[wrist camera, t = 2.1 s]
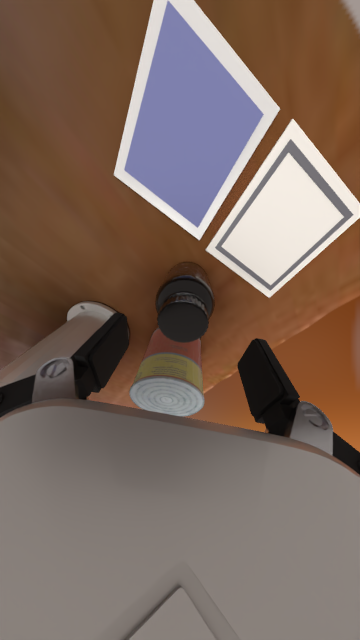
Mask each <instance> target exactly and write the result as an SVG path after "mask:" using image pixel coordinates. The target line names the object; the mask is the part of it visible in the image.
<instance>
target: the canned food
mask: <svg viewBox="0 0 360 640" xmlns="http://www.w3.org/2000/svg"><path fill="white" fill-rule="evenodd" d="M130 397H131V399H132V401H133V402H134V403H135V404H136V405H137V406H139V407H140V408H142V409H143V410H148V411H153V412H159V413H164V414H170V415H175V416H180V417H183V416H189V415H192V414H194V413H196V412H198V411H199V410H200V409H202V407H203V406H204V396H203V380H202V363H201V341H200V338H198V339H197V340H194V341H193V342H189V343H187V342H186V343H182V342H181V343H179V342H175V341H173V340H170V339H169V338H167V337H166V336H165V335H163V333H162V332H161V330H160V329H159V328H158V329H156V330H155V331H154V332H153V334H152V336H151V339H150V342H149V345H148V347H147V350H146V352H145V355H144V357H143V360H142V363H141V365H140V368H139V370H138V373H137V375H136V378H135V380H134V383H133V385H132V386H131V388H130Z"/></svg>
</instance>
